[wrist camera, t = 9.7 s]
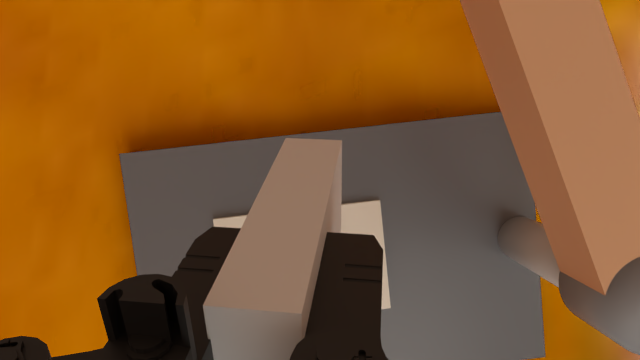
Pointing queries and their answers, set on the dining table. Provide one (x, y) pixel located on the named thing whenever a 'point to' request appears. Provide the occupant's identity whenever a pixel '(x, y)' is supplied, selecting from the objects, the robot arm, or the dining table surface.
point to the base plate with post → (384, 226)
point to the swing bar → (572, 146)
